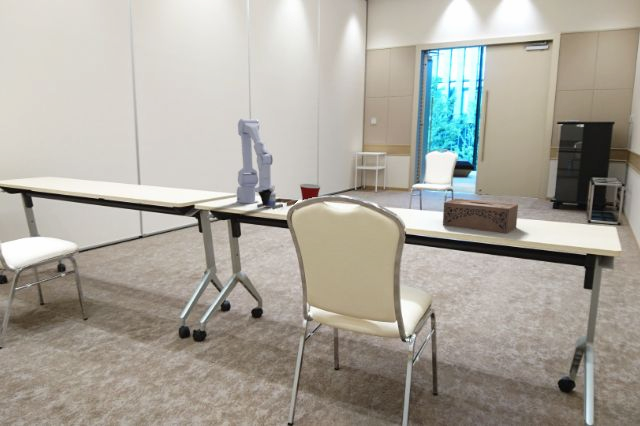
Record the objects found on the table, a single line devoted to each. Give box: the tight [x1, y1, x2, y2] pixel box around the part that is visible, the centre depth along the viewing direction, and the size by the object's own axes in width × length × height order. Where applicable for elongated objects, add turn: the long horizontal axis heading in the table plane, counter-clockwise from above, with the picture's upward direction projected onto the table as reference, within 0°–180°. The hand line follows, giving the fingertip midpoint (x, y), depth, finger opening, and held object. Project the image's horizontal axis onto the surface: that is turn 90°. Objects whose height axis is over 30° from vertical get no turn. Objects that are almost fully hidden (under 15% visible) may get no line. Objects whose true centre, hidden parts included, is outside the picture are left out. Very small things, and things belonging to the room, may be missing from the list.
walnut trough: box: [276, 197, 299, 206], centre depth 246 cm, size 12×10×2 cm
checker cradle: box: [256, 202, 284, 210], centre depth 235 cm, size 10×8×1 cm
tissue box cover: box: [442, 198, 519, 235], centre depth 190 cm, size 26×14×10 cm, turn 55°
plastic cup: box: [299, 183, 322, 201], centre depth 230 cm, size 11×11×12 cm
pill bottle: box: [264, 188, 277, 208], centre depth 234 cm, size 6×5×10 cm
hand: (265, 205), depth 231 cm, fingers closed
